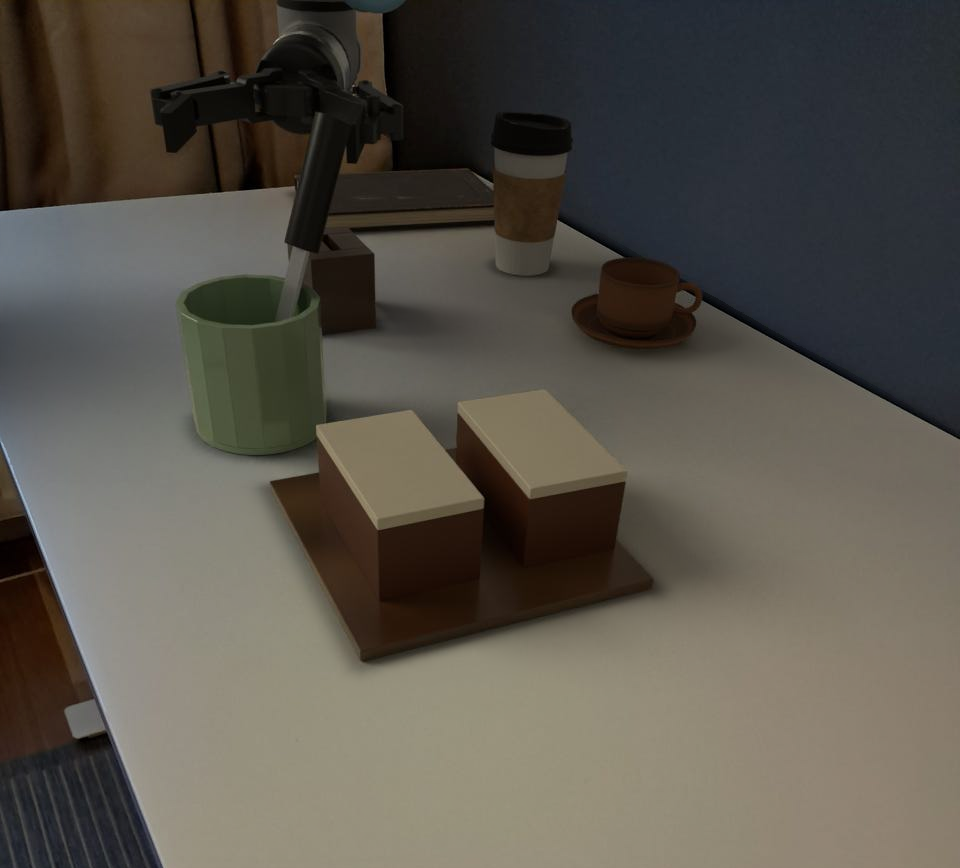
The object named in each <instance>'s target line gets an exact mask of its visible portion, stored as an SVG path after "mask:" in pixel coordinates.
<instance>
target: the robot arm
mask: <svg viewBox="0 0 960 868" xmlns="http://www.w3.org/2000/svg"><path fill="white" fill-rule="evenodd" d="M406 1H407V0H276V13H277V15H276V17H277V27H278V28H277V29H278V38H277V39H276V40H275V41H274V43H273V44H272V45H271V46H270V47H268V49H267V50H266V51H265V52H264V53H263V55H262V56H261V58H260V60H259V62H258V64H257V67H256V70H255V72H254V73H248V74H242V75H239V76H237V78H236V81H235V82H232V81H231V76H230V75H229V72H227V71H225V70H223V69H222V70H221V69H219V70H217V71H214V72H212V73H210V74H209V75H206V76H202V77H197V78H193V79H189V80H184V81H180V82H175V83H171V84H167V85H164V86H159V87H157V86H156V87H153V88H150V89H149V93H150V95H149V96H150V101H151V107H152V114H153V122H154V124H155V125H156V126H159V127H162V130H163V138H164V143H165V144H164V146H165V152H166V153H168V154H169V153H172V154H177V153H178V152H179V151H180V150H182V148H183V147H184V146H185V145H186V144H187V143H188V142H189V141H190V140H191V139H192V138H193V137H194V136H195V135H196V134H197V133H198V130H197V127H202V126H208V125H215V124H220V123H227V122H231V121H237V120H242V121H244V122H247V123H249V124H250V123H251V124H258V123H264V122H269V121H271V122H272V123H273V124H274V125H276V126H277V127H278V128H280V129H281V130H283V131H286V132H288V133H291V134H294V135H299V136H301V135H302V136H304V135H310V132H311V128H312V124H313V120H314V115H315V112H321V113H324V114H327V115H330V116H333V117H335V118H338V119H340V120H342V121H345V122H347V123H349V124H350V125H351V128H350V132H349V136H348V140H347V144H346V148H345V152H346V153H345V155H346V164H350V165H351V164H352V165H357V164H358V162H359V159H360V157H361V155H362V152H363V150H364V148H365V146H366V145H375V144H377V143H378V141H380V140H381V135H382V136H385V137H386V138H387V139H389V140H392V141H393V142H400V141H402V140H404V105H403V104H402V103H400V102H399V101H396V100H395V99H393V98H392V97H390V96H389V95H387V94H385V93H383V92H382V91H381V90H379V89H376V88H375V87H374V86H373V82H372V81H369V80H368V79H362V80H359V81H358V82H357V83H355V82H356V81H357V79H358V75H359V74H360V73H361V72H360V71H361V63H362V50H361V48H362V47H361V42H360V39H359V37H358V35H357V12H358V13H370V14H386V13H389V12H390V13H391V12H392V11H395V10H396V9H398V8H399V7H400V6H402V5H403V4H404V3H405V2H406ZM256 110H257V111H256Z"/></svg>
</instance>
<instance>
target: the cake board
mask: <svg viewBox="0 0 960 868" xmlns="http://www.w3.org/2000/svg"><path fill="white" fill-rule="evenodd" d="M445 451H446V452H447V453H448V454H449V456H450V457H451V458H452V459H453V460H454V462H455V463H456V447H453V448H448V449H447V448H446V449H445ZM269 490H270V492H271V494H272V496H273V498H274V499H275V501H276V503H277V505H278V507H279V509H280V511H281V513H282V515H283V516H284V519H285V521H286V522H287V524H288V526H289V528H290V530H291V532H292V534H293V536H294V537H295V539H296V541H297V544H298V545H299V547H300V549H301V551H302V553H303V554H304V557H305V559H306V560H307V563H308V564H309V567H310V568H311V570H312V572H313V574H314V576H315V578H316V579H317V581H318V583H319V585H320V587H321V589H322V591H323V593H324V595H325V597H326V599H327V601H328V602H329V604H330V606H331V608H332V610H333V612H334V613H335V615H336V617H337V619H338V621H339V623H340V625H341V627H342V629H343V631H344V632H345V634H346V636H347V638H348V640H349V642H350V644H351V646H352V647H353V650H354V651H355V653H356V655H357V657H358V659H359V661H360V662H363V661H368V660H371V659H376V658H379V657H383V656H387V655H393V654H396V653H399V652H404V651H407V650H411V649H415V648H418V647H424V646H427V645H431V644H435V643H439V642H443V641H444V642H445V641H447V640H452V639H455V638H459V637H464V636H467V635H471V634H475V633H478V632H479V633H480V632H483V631H487V630H491V629H495V628H499V627H503V626H506V625H511V624H515V623H519V622H522V621H527V620H530V619H535V618H539V617H542V616H547V615H551V614H555V613H558V612H563V611H566V610H571V609H575V608H579V607H583V606H587V605H591V604H595V603H598V602H599V603H600V602H602V601H606V600H611V599H615V598H618V597H622V596H627V595H631V594H634V593H638V592H642V591H646V590H651V589H652V588H653V585H654V581H655V579H654V577H653V576H652V575H651V574H650V573H649V572H648V571H647V570H646V568H645V567H644V566H642V565H641V563H640V562H639V561H638V560H637V559H636V558H635V557H634V556H633V555H632V554H631V553H630V552H629V550H627V549H626V547H624V546H623V544H622V543H621V542H620V541H619V540H618V539H617V538H616V544H615V549H611V550H606V551H602V552H597V553H592V554H587V555H583V556H578V557H573V558H569V559H564V560H559V561H555V562H550V563H545V564H540V565H536V566H531V567H526V568H523V567H522V566H521V564H520V563H519V562H518V560H517V559H516V558H515V556H514V555H513V554H512V552H511V551H510V550H509V548H508V547H507V546H506V544H505V543H504V542H503V540H502V539H501V538H500V536H499V535H498V534H497V532H496V531H495V530H494V528H493V527H492V526H491V524H490V523H489V522H488V520H487V519H486V518H485V516H483V532H482V549H481V566H480V578H478V579H474V580H470V581H465V582H461V583H457V584H452V585H448V586H444V587H439V588H435V589H431V590H426V591H422V592H418V593H413V594H409V595H405V596H400V597H396V598H392V599H387V600H383V601H379V600H378V598H377V597H376V595H375V593H374V591H373V590H372V588H371V586H370V585H369V583H368V581H367V579H366V578H365V576H364V574H363V573H362V571H361V569H360V568H359V566H358V564H357V562H356V561H355V559H354V557H353V556H352V554H351V552H350V551H349V549H348V547H347V545H346V544H345V542H344V540H343V539H342V537H341V535H340V534H339V532H338V530H337V528H336V527H335V525H334V523H333V522H332V520H331V518H330V517H329V515H328V513H327V511H326V510H325V508H324V506H323V505H322V503H321V495H320V480H319V471H318V472H314V473H313V472H312V473H307V474H302V475H296V476H291V477H286V478H280V479H275V480H273V479H272V480H270V481H269Z"/></svg>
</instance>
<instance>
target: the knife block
mask: <svg viewBox="0 0 960 868" xmlns="http://www.w3.org/2000/svg"><path fill="white" fill-rule="evenodd" d="M286 247H287V260H288V261H289V260H290V256H291V252H292V248H293V246H292V245H289V244H287V246H286ZM308 252H309V251H308ZM375 261H376V259H375V253H374V252H373V250H371V249H370V248H369V247H368V246H367V245H366V244H365V243H364V242H363V241H362V240H361V239H360V238H359V237H358V236H357V235H356V234H355V232H352V231H351V230H350V229H349V228H348V227H347V226H345V227H334V228H325V231H324V235H323V239H322V243H321V247H320V251H319V254H316V253H312V252H310V254H309V258H308V262H307V266H306V270H305V274H304V278H303V282H302V283H303V284H305V285H307V286H309V287H311V288H313V290H314V291H315V292H316V293H317V295H318V296H319V297H320V306H321V323H322V336H324V335H330V334H331V335H332V334H339V333H345V332H354V331H362V330H369V329H370V330H371V329H376V328H377V312H376V311H377V307H376V306H377V305H376V303H377V302H376V262H375Z"/></svg>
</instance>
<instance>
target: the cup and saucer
mask: <svg viewBox="0 0 960 868" xmlns="http://www.w3.org/2000/svg"><path fill="white" fill-rule="evenodd" d="M680 278H681V274H680V272H679V270H678V269H677V268H676V267H674V266H672V265H670V264H669V263H665V262H663V261H660V260H655V259H651V258H644V257H618V258H617V257H616V258H613V259H610V260H607V261H605V262H604V263H603V264H602V265H601V268H600V276H599V285H598V293H595V294H590V295H587V296H584V297H582V298H581V299H579V300H577V301H576V302H575V303H573V305H572V307H571V319H572V321H573V323H574V324H575V325H576V327H577V328H578V329H579V330H580V331H581V332H582V333H584V335H586V336H589V337H590V338H592V339H593V340H596V341H598V342H600V343H603V344H606V345H609V346H612V347H618V348H623V349H629V350H659V349H664V348H669V347H672V346H676V345H677V344H680V343H682V342H683V341H685V340H686V339H688V338H689V337H691V336H692V334H693V333H694V332H695V329H696V327H697V318H696V317H695V315H694V314H693V313H695V312H696V311H697V310H698V309H699V308H700V307H701V305H702V303H703V292H702V290H701V288H700V287H699V286H698V285H697V284H694V283H692V282H680ZM682 291H690V292H692V293H693V294H694V297H695V298H694V301H693V303H692V305H690V306H688V307H685V306H683V305H681V304H679V303H677V302H676V298H677V293H680V292H682Z"/></svg>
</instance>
